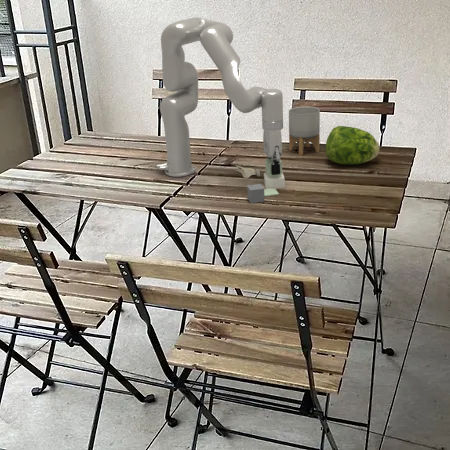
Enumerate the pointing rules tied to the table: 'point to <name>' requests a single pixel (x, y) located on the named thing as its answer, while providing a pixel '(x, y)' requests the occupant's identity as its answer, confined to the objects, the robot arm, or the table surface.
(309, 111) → the planter
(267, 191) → the swatch
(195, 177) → the table surface
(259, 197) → the gray cube
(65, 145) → the table surface
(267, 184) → the base block
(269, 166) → the sage cube
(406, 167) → the table surface
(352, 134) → the green rounded lump
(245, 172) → the fossil
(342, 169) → the table surface
